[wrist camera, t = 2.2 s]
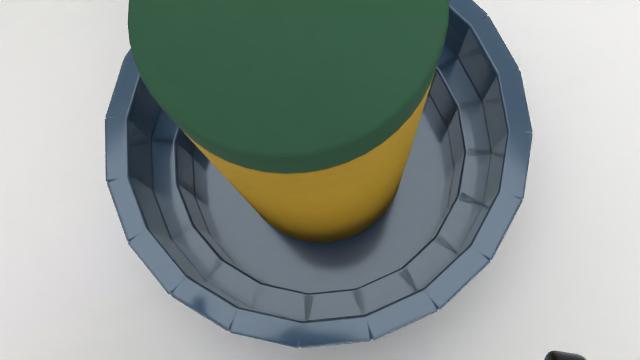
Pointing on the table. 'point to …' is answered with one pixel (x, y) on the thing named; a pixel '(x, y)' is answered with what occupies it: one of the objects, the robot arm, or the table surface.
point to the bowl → (343, 255)
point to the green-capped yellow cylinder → (296, 98)
